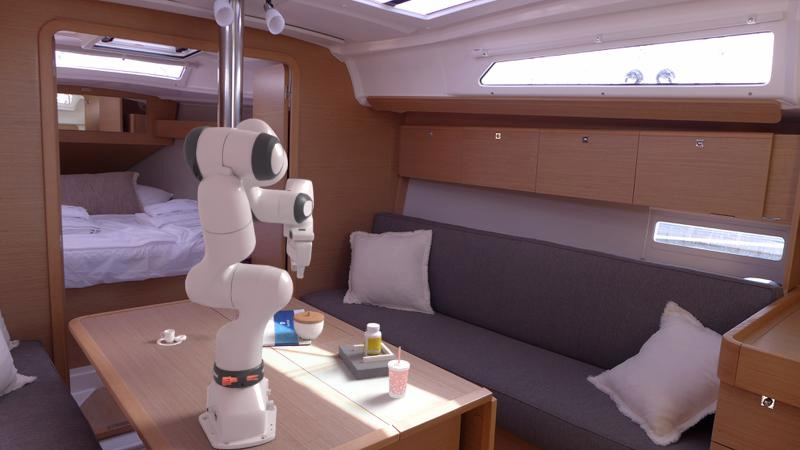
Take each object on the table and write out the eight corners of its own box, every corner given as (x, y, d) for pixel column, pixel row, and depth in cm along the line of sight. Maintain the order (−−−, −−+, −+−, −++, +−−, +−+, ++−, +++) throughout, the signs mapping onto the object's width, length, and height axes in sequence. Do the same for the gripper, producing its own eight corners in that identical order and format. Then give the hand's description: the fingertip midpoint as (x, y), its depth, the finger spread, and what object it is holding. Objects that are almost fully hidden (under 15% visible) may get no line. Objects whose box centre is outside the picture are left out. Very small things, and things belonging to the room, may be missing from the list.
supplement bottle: (383, 355, 174) (385, 325, 173) (371, 359, 170) (372, 329, 169) (372, 350, 178) (373, 321, 176) (359, 354, 174) (361, 324, 172)
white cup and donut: (189, 339, 188) (189, 328, 187) (177, 348, 180) (177, 336, 179) (164, 337, 189) (164, 326, 188) (152, 345, 181) (151, 333, 180)
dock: (403, 374, 168) (404, 360, 167) (357, 379, 162) (357, 365, 162) (381, 350, 186) (382, 337, 186) (338, 354, 181) (339, 341, 180)
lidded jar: (321, 343, 190) (321, 317, 188) (290, 341, 190) (290, 315, 188) (325, 332, 200) (326, 307, 199) (296, 331, 200) (297, 306, 199)
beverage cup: (386, 388, 158) (389, 342, 156) (408, 390, 157) (411, 343, 155) (385, 398, 152) (388, 350, 149) (407, 400, 151) (410, 351, 149)
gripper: (282, 225, 178) (281, 267, 180) (293, 236, 159) (292, 282, 161) (302, 225, 180) (300, 266, 182) (315, 235, 161) (313, 281, 163)
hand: (297, 274), depth 171 cm, fingers open, 8 cm apart
